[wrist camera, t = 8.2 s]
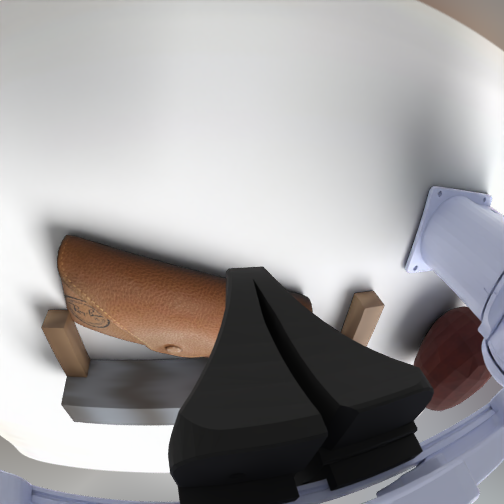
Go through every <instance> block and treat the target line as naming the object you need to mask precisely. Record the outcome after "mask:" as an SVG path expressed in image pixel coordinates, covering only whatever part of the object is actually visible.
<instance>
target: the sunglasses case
mask: <svg viewBox="0 0 504 504" xmlns="http://www.w3.org/2000/svg"><path fill="white" fill-rule="evenodd" d="M57 268H58V272H59V275H60V277H61V281H62V285H63V290H64V295H65V300H66V305H67V310H68V311H69V313H70V315H71V318H72V320H73V321H74V322H76V323H78V324H80V325H83V326H84V327H87V328H89V329H92V330H95V331H98V332H100V333H103V334H106V335H109V336H113V337H116V338H119V339H123V340H126V341H130V342H134V343H138V344H142V345H145V346H146V347H147V348H149V349H150V350H154V351H156V352H160V353H166V354H170V355H175V356H180V357H189V358H190V357H191V358H194V357H202V356H203V357H208V358H209V356H210V354H211V351H212V349H213V347H214V344H215V341H216V339H217V336H218V333H219V330H220V326H221V323H222V319H223V315H224V311H225V300H226V279H225V278H222V277H219V276H215V275H211V274H207V273H203V272H200V271H196V270H192V269H187V268H183V267H180V266H176V265H172V264H168V263H164V262H161V261H158V260H154V259H150V258H147V257H143V256H140V255H136V254H133V253H129V252H126V251H122V250H119V249H115V248H112V247H109V246H106V245H103V244H100V243H97V242H93V241H89V240H86V239H83V238H80V237H76V236H71V235H66V236H65V237H64V239H63V240H62V242H61V245H60V247H59V250H58V256H57ZM288 292H289V291H288ZM289 293H290V294H291V295H292V296H293V297H294V298H295V299H297V300H298V301H299V302H300V303H301V304H302V305H303V306H305V307H306V308H307V309H308V310H310V311H311V312H313V311H312V304H311V301H310V299H309V298H308V297H306V296H304V295H302V294H298V293H294V292H289Z"/></svg>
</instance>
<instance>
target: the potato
mask: <svg viewBox="0 0 504 504" xmlns="http://www.w3.org/2000/svg"><path fill="white" fill-rule="evenodd" d="M481 323H482V322H481V321H480V320H479V318H478V317H477V316H476V315H475V314H474V313H473V312H472V311H471V310H470V308H469V307H464V306H463V307H459V308H454V309H452V310H450V311H448V312H447V313H445V314H444V315H443V316H441V317H440V318H439V319H437V320H436V321H435V323H434V324H433V326H432V327H431V329H430V330H429V332H428V333H427V335H426V336H425V338H424V339H423V341H422V344H421V346H420V349H419V351H418V353H417V356H416V358H415V361H414V366H416V367H419V368H420V369H421V371H422V372H423V374H424V375H425V377H426V378H427V380H428V381H429V383H430V384H431V386H432V388H433V390H434V394H433V397H432V399H431V401H430V402H429V404H428V405H427V406H426V408H428V409H431V410H435V411H436V410H437V411H440V410H445V409H448V408H452V407H454V406H456V405H458V404H460V403H461V402H463V401H464V400H466V399H467V398H469V397H470V396H471V395H472V394H474V393H475V392H476V391H477V390H479V389H480V388H481V387H483V385H484V384H485V383H486V382H487V381H488V380H489V379H490V377H491V376H492V375H491V374H490V372H489V371H488V369H487V367H486V364H485V362H484V358H483V354H482V341H483V339H484V337H483V336H482V335H481V333H480V332H479V331H478V328H479V326H480V325H481Z"/></svg>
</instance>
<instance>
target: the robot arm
mask: <svg viewBox="0 0 504 504" xmlns="http://www.w3.org/2000/svg"><path fill="white" fill-rule="evenodd" d="M438 193H439V194H438ZM491 201H492V196H490V195H489V194H483V193H477V192H471V191H465V190H459V189H452V188H445V187H438V186H433V187H432V188H431V189H430V191H429V194H428V198H427V201H426V205H425V208H424V212H423V215H422V219H421V222H420V225H419V228H418V231H417V234H416V237H415V240H414V243H413V246H412V249H411V252H410V255H409V258H408V261H407V263H406V266H405V270H406V271H407V272H408V273H414V272H422V271H431V270H433V271H434V272H435V273H436V274H437V275H438V276H439V277H440V278H441V279H442V280H443V281H444V282H445V283H446V284H447V285H448V286H449V287H450V288H451V289H452V290H453V291H454V292H455V293H456V294H457V295H458V297H459V298H460V299H461V300H462V301H463V302H464V303H465V304H466V305H467V306H468V307H469V308H470V310H471V311H472V312H473V313H474V314H475V315H476V316H477V317H478V318H479V320H480V321H481V322H482V323H481V325H480V326H479V328H478V331H479V332H480V333H481V335H482V336H483V337H484V339H483V341H482V354H483V358H484V362H485V364H486V367H487V369H488V371H489V372H490V374H491V375H492V376H493V378H494V379H495V380H496V381H497V382H498V383H499V384H500V385H502V386H503V387H504V215H502V214H501V213H499V212H498V211H496V210H495V209H493V208H492V207H490V205H491ZM433 394H434V390H433V388H432V386H431V384H430V383H429V381H428V380H427V378H426V377H425V375H424V374H423V372H422V371H421V369H420V368H419V367H416V366H413V365H410V364H407V363H404V362H401V361H398V360H395V359H393V358H390V357H388V356H385V355H383V354H381V353H378V352H376V351H374V350H372V349H370V348H368V347H365V346H363V345H362V344H360V343H358V342H356V341H354V340H352V339H351V338H349V337H347V336H345V335H344V334H342V333H340V332H339V331H337V330H336V329H334V328H333V327H331V326H330V325H328V324H327V323H325V322H324V321H322V320H321V319H320V318H318V317H317V316H316V315H314V314H313V313H312V312H311V311H310V310H308V309H307V308H306V307H305V306H303V305H302V304H301V303H300V302H299V301H298V300H297V299H295V298H294V297H293V296H292V295H291V294H290V293H289V292H288V291H287V290H286V289H285V288H284V287H283V286H282V285H281V284H280V283H279V282H278V281H277V280H276V279H275V278H274V277H273V276H272V275H271V274H270V273H269V272H268V271H267V270H266V269H265V268H264V267H248V268H230V269H228V270H227V271H226V300H225V311H224V315H223V319H222V323H221V326H220V330H219V333H218V336H217V339H216V341H215V344H214V347H213V349H212V351H211V354H210V356H209V359H208V361H207V363H206V365H205V367H204V369H203V371H202V373H201V375H200V377H199V379H198V381H197V382H196V384H195V386H194V388H193V390H192V391H191V393H190V395H189V396H188V398H187V399H186V401H185V402H184V404H183V405H182V407H181V408H180V410H179V412H178V415H177V418H176V421H175V424H174V427H173V431H172V434H171V438H170V442H169V449H168V458H169V467H170V474H171V475H172V477H173V479H174V480H175V482H176V484H177V485H178V492H179V499H180V502H144V501H126V500H114V499H105V498H96V497H89V496H82V495H76V494H70V493H65V492H60V491H55V490H50V489H46V488H42V487H38V486H34V485H31V484H30V483H29V482H28V481H26V480H25V479H23V478H21V477H19V476H17V475H15V474H12V473H9V472H6V471H3V470H0V504H320V503H323V502H326V501H330V500H333V499H336V498H339V497H342V496H345V495H348V494H351V493H354V492H357V491H359V490H362V489H364V488H367V487H370V486H372V485H375V484H377V483H380V482H382V481H384V480H387V479H389V478H391V477H393V476H396V475H398V474H400V473H402V472H404V471H406V470H408V469H410V468H413V467H414V466H416V468H414V469H412V470H411V471H409V472H407V473H405V474H403V475H402V476H401V477H400V478H399V479H397V480H396V481H395V482H393V483H391V484H390V485H388V486H387V487H385V488H383V489H381V490H380V491H378V492H377V494H376V495H377V498H375V499H372V500H370V501H367V502H365V503H362V504H472V503H473V502H474V501H475V500H477V498H478V497H479V494H480V490H479V488H478V486H477V485H478V484H479V483H481V482H482V481H483V480H484V479H485V478H486V477H487V476H488V475H489V474H490V473H491V472H492V471H493V470H495V468H497V467H498V466H499V465H500V463H502V462H503V460H504V388H503V389H501V390H500V391H499V392H498V393H497V394H496V395H495V396H494V397H493V398H492V399H491V400H490V403H488V404H487V405H485V406H484V407H482V408H481V409H479V410H477V411H476V412H475V413H473V414H471V415H470V416H468V417H466V418H465V419H463V420H461V421H460V422H458V423H456V424H455V425H453V426H451V427H449V428H447V429H446V430H444V431H442V432H440V433H438V434H436V435H435V436H433V437H431V438H429V439H427V440H425V441H423V442H421V443H419V442H418V440H417V439H416V437H415V435H414V433H415V432H416V431H417V427H416V425H415V423H414V420H415V418H416V417H417V416H418V415H419V414H420V413H421V412H422V411H423V410H424V409H425V407H426V406H427V405H428V404H429V402H430V401H431V399H432V397H433Z"/></svg>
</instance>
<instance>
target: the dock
mask: <svg viewBox="0 0 504 504" xmlns="http://www.w3.org/2000/svg"><path fill="white" fill-rule="evenodd" d="M384 306H385V305H384V304H383V303H382V301H381V300H380V299H379V297H378V296H377V295H376V293H375V292H374V291H368V292H360V293H354V296H353V299H352V302H351V305H350V308H349V311H348V314H347V317H346V319H345V322H344V325H343V328H342V330H341V333H342V334H344V335H345V336H347V337H349V338H351V339H352V340H354V341H356V342H358V343H360V344H362V345H363V346H365V347H366V346H367V344H368V342H369V340H370V338H371V336H372V333H373V331H374V329H375V327H376V324H377V322H378V320H379V317H380V315H381V313H382V310H383V308H384ZM41 328H42V330H43V332H44V334H45V336H46V338H47V340H48V342H49V344H50V346H51V348H52V350H53V352H54V354H55V356H56V358H57V359H58V361H59V363H60V365H61V367H62V369H63V370H64V372H65V374H66V376H67V379H66V383H65V388H64V393H63V398H62V403H61V405H62V406H63V408H64V409H65V410H66V412H67V413H68V414H69V416H70V417H71V418H72V419H73V421H74V422H83V423H95V424H112V425H174V424H175V421H176V418H177V415H178V412H179V410H180V408H181V407H182V405H183V404H184V402H185V401H186V399H187V398H188V396H189V395H190V393H191V391H192V390H193V388H194V386H195V384H196V382H197V381H198V379H199V377H200V375H201V373H202V371H203V369H204V367H205V365H206V363H207V361H208V359H209V358H208V357H205V358H189V359H167V360H90V358H89V356H88V354H87V351H86V349H85V347H84V345H83V342H82V340H81V337H80V335H79V333H78V330H77V328H76V325H75V322H74V321H73V320H72V318H71V315H70V313H69V311H68V310H48V312H47V315H46V317H45V320H44V322H43V325H42V327H41Z"/></svg>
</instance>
